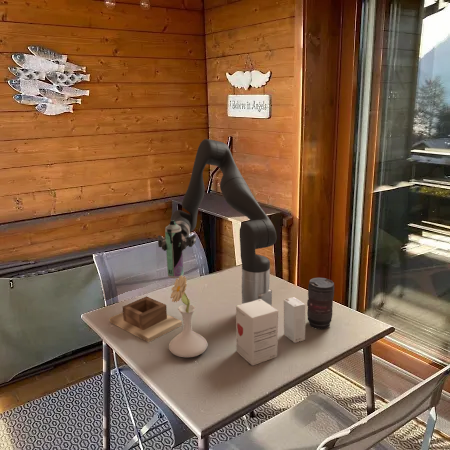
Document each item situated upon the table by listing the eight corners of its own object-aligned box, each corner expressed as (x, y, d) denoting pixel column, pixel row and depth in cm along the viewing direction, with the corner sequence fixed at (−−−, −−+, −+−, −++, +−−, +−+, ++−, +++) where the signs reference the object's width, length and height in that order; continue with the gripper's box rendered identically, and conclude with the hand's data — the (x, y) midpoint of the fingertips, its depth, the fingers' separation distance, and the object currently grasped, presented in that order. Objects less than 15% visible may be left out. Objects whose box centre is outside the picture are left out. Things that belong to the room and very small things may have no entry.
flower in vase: (171, 340, 144) (168, 264, 137) (208, 340, 144) (207, 264, 137) (165, 364, 132) (160, 282, 125) (205, 364, 131) (203, 282, 124)
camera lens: (317, 333, 147) (319, 289, 143) (301, 322, 154) (303, 280, 150) (337, 326, 151) (340, 283, 147) (320, 316, 158) (323, 275, 154)
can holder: (182, 325, 153) (181, 307, 151) (148, 342, 143) (147, 323, 141) (142, 307, 166) (141, 290, 164) (109, 322, 156) (108, 304, 154)
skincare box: (305, 340, 144) (307, 304, 140) (293, 343, 142) (294, 307, 138) (294, 331, 149) (295, 296, 145) (282, 334, 147) (283, 299, 144)
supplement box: (235, 351, 138) (234, 304, 134) (260, 343, 142) (261, 297, 138) (251, 366, 130) (251, 317, 126) (278, 357, 135) (279, 310, 130)
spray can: (182, 278, 161) (180, 222, 156) (166, 278, 161) (163, 222, 156) (184, 272, 167) (181, 218, 161) (168, 272, 167) (165, 218, 161)
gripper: (159, 223, 174) (151, 237, 158) (198, 223, 173) (194, 237, 157) (160, 242, 176) (152, 258, 160) (198, 242, 175) (195, 258, 159)
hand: (173, 247), depth 158 cm, fingers closed on spray can, 5 cm apart
